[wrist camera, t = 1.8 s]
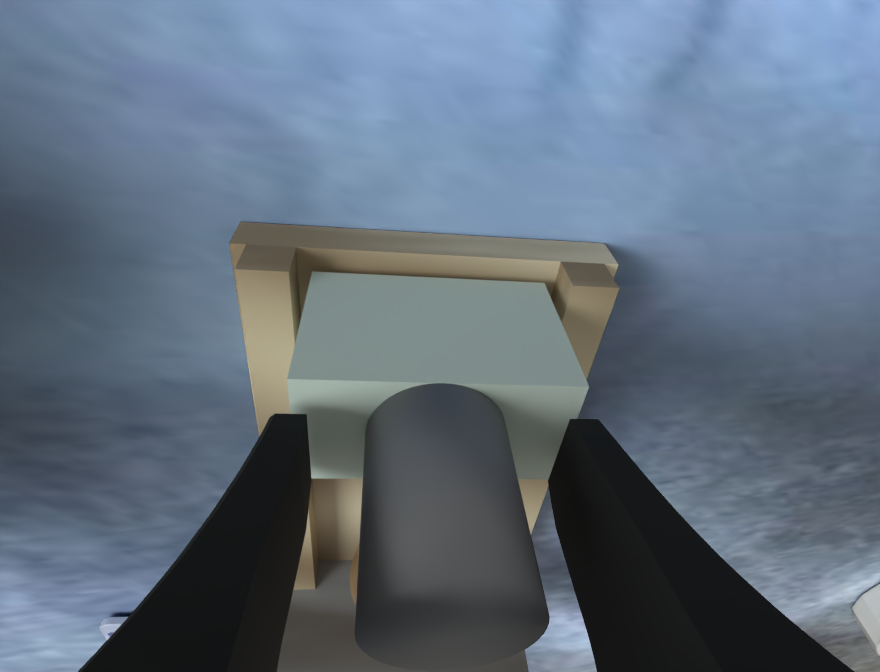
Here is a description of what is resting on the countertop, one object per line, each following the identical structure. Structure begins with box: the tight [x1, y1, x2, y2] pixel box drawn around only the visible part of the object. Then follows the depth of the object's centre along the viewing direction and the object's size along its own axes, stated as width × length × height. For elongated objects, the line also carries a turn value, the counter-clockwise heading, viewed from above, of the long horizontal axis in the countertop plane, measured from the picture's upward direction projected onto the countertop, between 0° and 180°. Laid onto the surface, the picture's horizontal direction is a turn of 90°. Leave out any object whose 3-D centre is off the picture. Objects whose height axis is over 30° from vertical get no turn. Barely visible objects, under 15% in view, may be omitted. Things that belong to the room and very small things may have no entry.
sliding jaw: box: [287, 271, 589, 671], centre depth 11 cm, size 3×6×8 cm, turn 84°
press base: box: [229, 222, 620, 672], centre depth 17 cm, size 18×10×6 cm, turn 174°
